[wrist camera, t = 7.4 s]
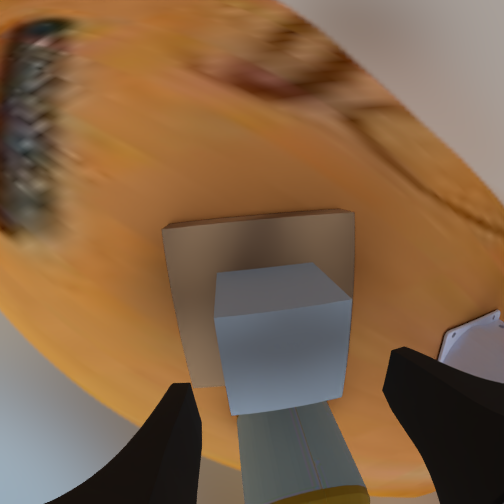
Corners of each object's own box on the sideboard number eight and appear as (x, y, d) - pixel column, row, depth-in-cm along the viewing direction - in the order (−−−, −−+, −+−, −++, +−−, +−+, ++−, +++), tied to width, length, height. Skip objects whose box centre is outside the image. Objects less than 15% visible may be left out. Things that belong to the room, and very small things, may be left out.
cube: (312, 262, 14) (351, 299, 10) (312, 342, 16) (341, 396, 11) (216, 272, 14) (213, 317, 9) (228, 354, 15) (231, 415, 11)
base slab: (339, 208, 16) (354, 212, 14) (336, 350, 18) (346, 366, 17) (169, 223, 15) (161, 229, 13) (195, 369, 18) (193, 387, 16)
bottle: (231, 382, 18) (251, 588, 4) (326, 369, 19) (416, 542, 4) (240, 438, 20) (260, 591, 5) (319, 426, 21) (374, 565, 6)
